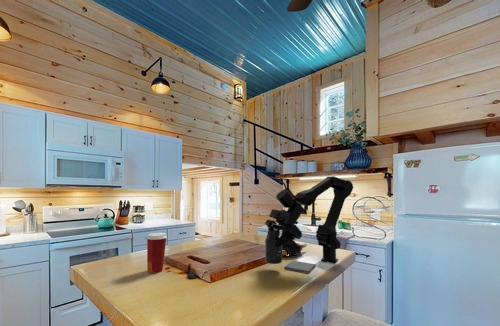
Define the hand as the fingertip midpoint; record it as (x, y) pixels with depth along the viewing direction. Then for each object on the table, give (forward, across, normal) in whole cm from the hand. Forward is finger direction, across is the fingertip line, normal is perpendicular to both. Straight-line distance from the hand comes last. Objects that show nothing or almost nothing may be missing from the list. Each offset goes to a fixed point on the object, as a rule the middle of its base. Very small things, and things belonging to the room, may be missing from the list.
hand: (270, 245), depth 98 cm
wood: (+25, -15, -10) cm, 31 cm away
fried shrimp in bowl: (-10, -15, +25) cm, 31 cm away
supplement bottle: (+4, 0, +6) cm, 7 cm away
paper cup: (+35, -21, -21) cm, 46 cm away
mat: (-2, +2, +16) cm, 17 cm away
